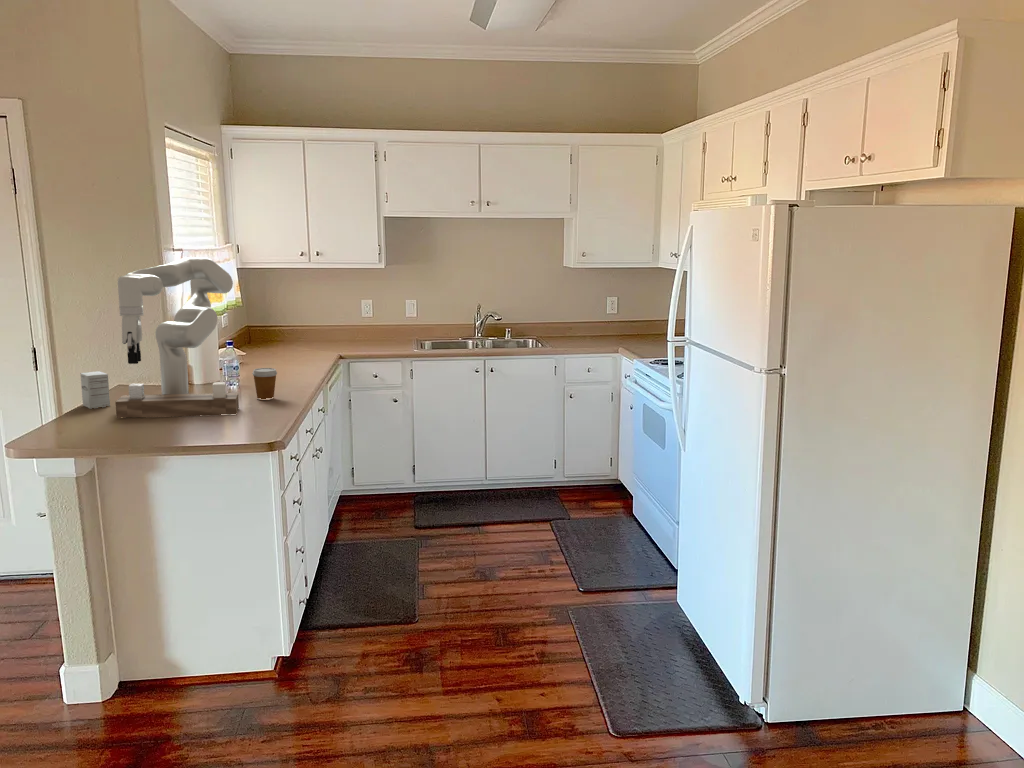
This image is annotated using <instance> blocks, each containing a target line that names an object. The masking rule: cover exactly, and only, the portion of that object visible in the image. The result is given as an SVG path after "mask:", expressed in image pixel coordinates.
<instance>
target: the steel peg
mask: <svg viewBox="0 0 1024 768" xmlns="http://www.w3.org/2000/svg"><path fill="white" fill-rule="evenodd" d="M127 386H128V395H129V400H143V399H144V398H145V397H144V395H145V385H144V383H130V384H129V385H127Z"/></svg>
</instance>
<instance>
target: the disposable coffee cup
mask: <svg viewBox="0 0 1024 768" xmlns="http://www.w3.org/2000/svg"><path fill="white" fill-rule="evenodd" d="M251 374H252V377H253V380H254V387H255V393H256V398H261V399H266V398H272V397H274V398H275V391H276V390H275V389H276V379H277V378H276V377H277V374H278V371H277V369H276V368H272V367H261V368H255V369H253V370H252V373H251Z"/></svg>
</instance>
